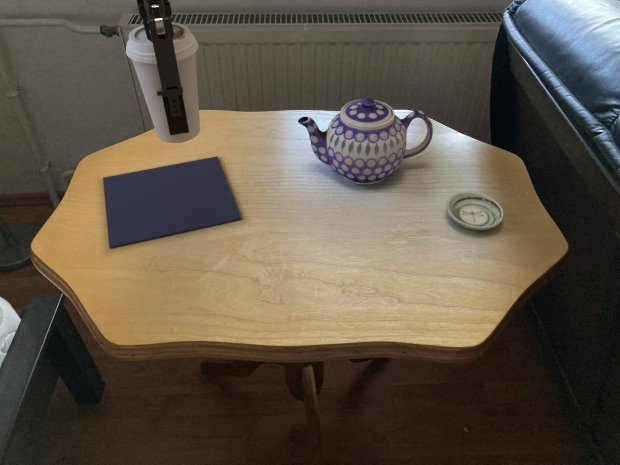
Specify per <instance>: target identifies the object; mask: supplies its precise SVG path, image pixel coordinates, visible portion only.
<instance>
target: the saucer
mask: <svg viewBox="0 0 620 465" xmlns="http://www.w3.org/2000/svg"><path fill="white" fill-rule="evenodd" d="M445 210H446V212H447V215H448V216H449V217H450V218H451V220H453V221H454V222H455V223H457V225H460V226H462V227H464V228H466V229H470V230H474V231H475V230H476V231H486V230H491V229H494V228H496V227H497V226H499V225H500V224H501V223H502V222H503V220H504V217H505V213H504V212H505V211H504V208H503V207H502V205H501V204H500V203H499V201H497V200H495V199H494V198H492V197H491V196H489V195H486V194H484V193H481V192H477V191H461V192H457V193H455V194H452V195H451V196H450V197H449V198H448V199H447V201H446V204H445Z"/></svg>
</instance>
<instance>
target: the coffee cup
mask: <svg viewBox="0 0 620 465" xmlns="http://www.w3.org/2000/svg"><path fill="white" fill-rule="evenodd" d="M172 27H173V32H174V37H173V38H172V39H173V44H174V49H175V55H176V60H177V66H178V71H179V76H180V82H181V87H182V88H183V100H184V106H185V111H186V117H187V122H188V128H189V133H183V134H177V135H170V132H169V127H168V122H167V118H166V113H165V108H164V103H163V98H162V96H157V91H161V88H162V87H161V83H160V78H159V73H158V68H157V61H156V57H155V52H154V47H153V43H152V42H151V41H149V40H148V39H147V36H146V32H145V28H144V24H143V25H140V26H136V27H135V28H134V29H132V30H131V31H130V32H129V34H128V40H127V42H126V46H125V54H126V56H127V57H128V58H129V59H130V60H131V62H132V63H133V67H134V70H135V73H136V77H137V79H138V82H139V85H140V88H141V91H142V94H143V96H144V100H145V103H146V106H147V110H148V112H149V116H150V118H151V122H152V125H153V127H154V130H155V133H156V136H157V138H158V139H159V140H160V141H162V142H165V143H169V144H180V143H181V144H182V143H186V142H188V141H191V140H193V139H194V138H196V137H197V136H199V134H200V132H201V122H200V121H201V120H200V106H199V105H200V103H199V91H198V90H199V89H198V74H197V72H198V71H197V56H196V54H197V51H198V49H199V43H198V41H197V39H196V37H195V36H194V35H193V33H192V32H191V30H190V28H189V26H187V25H185V24H182V23H179V22H173V21H172ZM149 31H150V30H149Z"/></svg>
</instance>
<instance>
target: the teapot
mask: <svg viewBox="0 0 620 465" xmlns="http://www.w3.org/2000/svg"><path fill="white" fill-rule="evenodd" d="M415 119H421V120H422V121H424V123H425V125H426V135H425V137H424V140H423V141H422V142H421V143H420V144H418V145H417V146H415V147H413V148H411V149H407V137H408V136H407V134H408V130H409V127H410V125H411V123H412V121H413V120H415ZM297 123H298V124H300V125H302V126H303V127H305V128H306V130H307V132H308V136H309V140H310V141H309V142H310V146H311V149H312V152H313V154H314V156H315V158H317V160H319V161H320V162H322V163H323V164H326V165H329V166H330V167H331V168H332V169H334V170H335V171H336V172H337V173H338V174H339V175H340V176H342V177H343V178H344V179H345V180H347V181H348V182H350V183H353V184H356V185H357V184H358V185H373V184H377V183H381V182H383V181H384V180H386V178H387V177H389V176H390V175H392V174H393V173H394V172H395V171H397V169H399V167H400V166H401V164H402V162H403V160H404V159H409V158H412V157H415V156H417V155H419V154H420V153H422V152H424V151H425V150H426V149H427V148H428V146H429V145H430V144H431V141H432V139H433V135H434V126H433V123H432V121H431V120H430V118H429V117H428V116H427V114H426V113H424V112H423V111H422V110H418V109H416V110H413V111H412V112H410V113H408V114H407V115H406V116H405V117H404V118H399V116H397V114H396V113H395V111H394V109H393V107H391V105H389V104H388V103H386V102H383V101H381V100H377V99H374V98H373V97H370V96H367V97H363V98H361V99H355V100H351V101H348V102H347V103H345V104H344V105H343V106H342V107H341V109H340V112H338V113H337V114H336V115H334V117H333V118H332V119H331V121H330V122H329V123H328V126H327V128H326V129H325V130H324V131H322V130H320V127H319V126H318V125H317V123H316V121H315V120H314V119H313V118H312V117H310V116H308V115H307V116H306V115H305V116H301V117H300V118H299V119H298V120H297Z"/></svg>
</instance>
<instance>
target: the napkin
mask: <svg viewBox="0 0 620 465" xmlns="http://www.w3.org/2000/svg"><path fill="white" fill-rule="evenodd" d="M102 183H103V193H104V205H105V206H104V207H105V216H106V228H107V239H108V248H109V249H114V248H118V247H119V248H120V247H123V246H128V245H132V244H133V245H134V244H137V243H142V242H146V241H151V240H154V239H155V240H156V239H160V238H164V237H168V236H173V235H177V234H183V233H188V232H191V231H197V230H201V229H205V228H209V227H213V226H214V227H215V226H219V225H223V224H224V225H225V224H227V223H233V222H237V221H241V220H242V216H241V213H240V211H239V209H238V205H237V203H236V201H235V199H234V198H235V197H234V195H233V193H232V190H231V188H230V184H229V183H228V180H227V177H226V175H225V172H224V169H223V167H222V165H221V162H220V159H219V157H218V155H217V156H211V157H206V158H201V159H195V160H190V161H184V162H180V163H179V162H178V163H173V164H169V165H163V166H158V167H152V168H146V169H141V170H137V171H131V172H126V173H119V174H115V175H109V176H104V177H102Z"/></svg>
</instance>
